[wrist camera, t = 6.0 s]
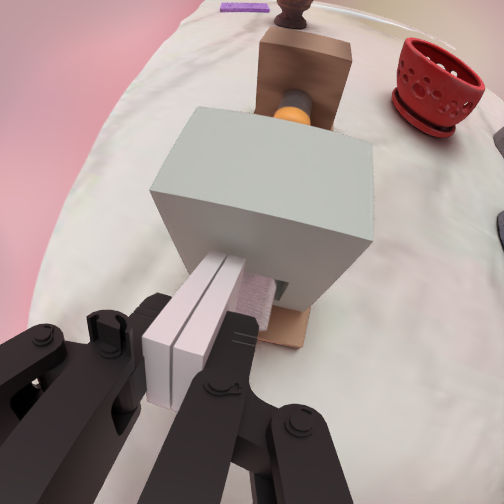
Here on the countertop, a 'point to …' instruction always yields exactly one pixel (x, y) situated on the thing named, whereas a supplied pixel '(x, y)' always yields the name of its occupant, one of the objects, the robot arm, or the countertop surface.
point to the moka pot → (501, 225)
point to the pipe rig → (301, 111)
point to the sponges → (244, 7)
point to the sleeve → (269, 199)
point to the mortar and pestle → (292, 13)
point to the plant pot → (434, 88)
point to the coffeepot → (500, 140)
